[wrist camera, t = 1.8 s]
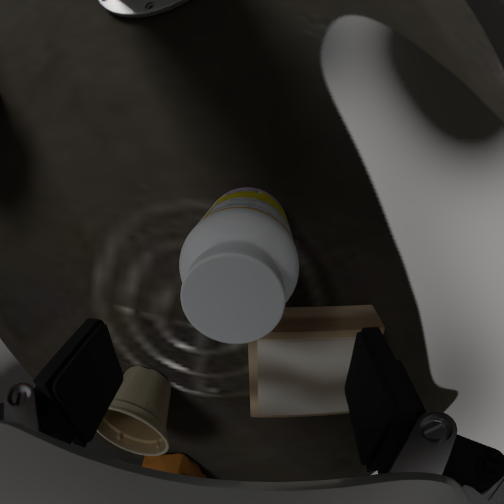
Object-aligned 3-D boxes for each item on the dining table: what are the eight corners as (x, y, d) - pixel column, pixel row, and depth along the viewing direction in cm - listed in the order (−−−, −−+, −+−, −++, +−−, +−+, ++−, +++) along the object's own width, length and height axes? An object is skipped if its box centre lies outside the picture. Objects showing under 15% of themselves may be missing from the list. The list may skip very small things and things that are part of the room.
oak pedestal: (250, 307, 27) (247, 334, 23) (372, 304, 27) (386, 329, 23) (252, 391, 32) (250, 419, 28) (351, 387, 31) (358, 413, 27)
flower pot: (196, 380, 32) (181, 438, 23) (170, 414, 35) (154, 463, 27) (125, 342, 30) (93, 394, 22) (109, 382, 33) (84, 428, 25)
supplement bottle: (251, 275, 26) (238, 379, 14) (193, 227, 25) (133, 304, 13) (304, 222, 24) (338, 299, 12) (244, 168, 23) (220, 196, 11)
